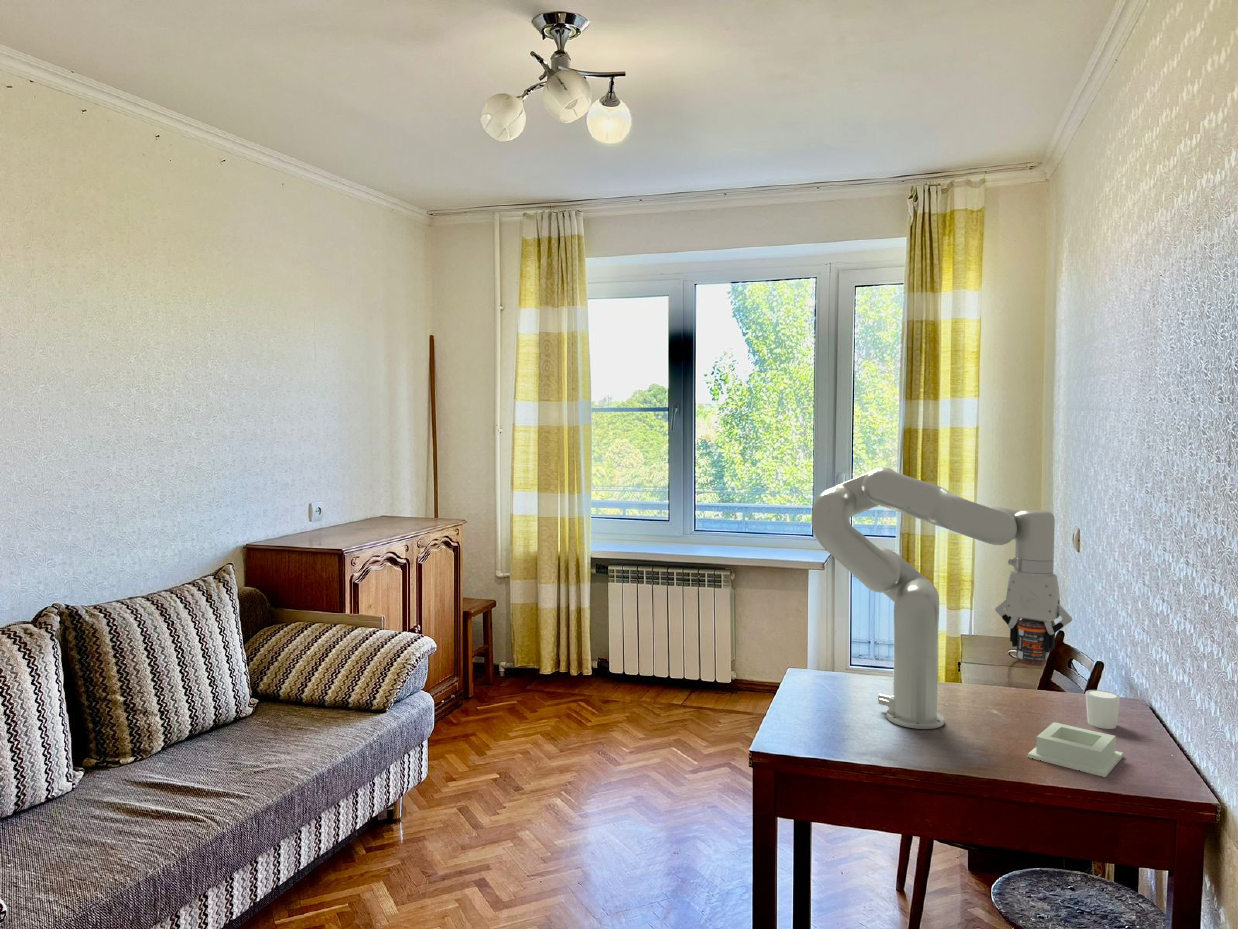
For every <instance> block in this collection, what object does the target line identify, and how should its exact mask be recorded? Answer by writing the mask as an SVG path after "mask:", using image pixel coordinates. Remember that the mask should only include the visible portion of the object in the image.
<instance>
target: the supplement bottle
mask: <svg viewBox="0 0 1238 929" xmlns="http://www.w3.org/2000/svg"><path fill="white" fill-rule="evenodd" d="M1045 634H1047V629H1046V626H1045V624H1044V622H1043V621H1035V620H1029V619H1022V618H1021V619H1020V621H1019V622H1018V629H1017V646H1016V658H1015V659H1016V661H1017V662H1018V663H1020V664H1022V665H1027V666H1033V667H1034V666H1035V667H1036V666H1037V667H1041V666H1045V665H1046V664H1047V658H1048V657H1047V655H1048V653H1047V652H1045Z"/></svg>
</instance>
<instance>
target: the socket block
mask: <svg viewBox="0 0 1238 929" xmlns="http://www.w3.org/2000/svg"><path fill="white" fill-rule="evenodd" d="M1028 757H1029V759H1032V758H1033V759H1032V760H1036V761H1040V760H1041V761H1040V762H1045V763H1048V764H1053V765H1057V766H1060V767H1064V768H1069V769H1070V770H1076V771H1079V770H1080V772H1083V773H1087V774H1090V775H1095V776H1100V777H1103V778H1106V777H1107V776H1109V773H1111V772H1112V770H1113V769H1114V768H1115V766H1117V764H1118V763H1119V762H1120V761H1121V760H1122V759H1123V758H1124V752H1122V751H1118V750H1116V735H1113V734H1108V733H1103V732H1099V731H1094V730H1090V729H1086V728H1081V727H1077V726H1073V725H1068V724H1064V723H1059V722H1052V723H1051V724H1049V725H1048V726H1047V727H1046V728H1045V729H1044V730H1042V732H1040V733H1039V734H1038V735H1036V744H1035V747H1034V748H1033V749H1032V750H1030V751H1029V752H1028V753H1027V758H1028Z"/></svg>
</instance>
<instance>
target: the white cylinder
mask: <svg viewBox="0 0 1238 929" xmlns="http://www.w3.org/2000/svg"><path fill="white" fill-rule="evenodd" d="M1084 695H1085V703H1086V717H1087V718H1086V719H1087V724H1088V725H1090V726H1092V727H1096V728H1100V729H1107V730H1112V729H1116V728H1117V724H1118V723H1117V722H1118V718H1119V717H1118V716H1119V709H1120V702H1121V696H1120V695H1119V694H1117V693H1114V692H1111V691H1106V690H1099V689H1088V690H1086V691H1085V694H1084Z"/></svg>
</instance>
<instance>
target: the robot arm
mask: <svg viewBox="0 0 1238 929" xmlns="http://www.w3.org/2000/svg"><path fill="white" fill-rule="evenodd" d="M878 506H880V507H883V508H887V509H890V510H891V511H896V512H899V513H901V514H904V515H907V516H910V517H913V518H915V519H919V520H921V521H925V522H927V523H929V524H931V525H934V526H938V527H941V528H944V529H946V530H949V531H952V532H955V533H958V534H959V535H962V536H966V537H969V538H970V539H971V538H972V539H974V540H977V541H979V542H983V543H986V544H988V545H993V546H1003V545H1007V544H1009V543H1010V542H1011V541H1013V540H1014V542H1015V553H1014V557H1013V558H1012V559H1011V558H1008V562H1007V564H1008V566H1012V567H1013V569H1014V570H1011V571H1010V573H1009V577H1008V583H1007V589H1006V595H1005V597H1006V598H1005V600H1004V601H1003V602H1001V603H1000V604H999V605H998V606H997V607H995V609H994V610H995V612H996V613H997V614H998V615H999V616H1000V617H1001V619H1002V620H1003V621H1004V622H1005V623H1006V624H1007V626H1008V628H1009V629H1010V630H1009V641H1010V642H1011V647H1014V648H1015V647H1016V648H1017V629H1018V622H1019V621H1020V620H1022V619H1029V620H1035V621H1043V622H1044V624H1045V626H1046V629H1047V634H1045V652H1047V654H1048V653H1050V652H1052V651H1053V650H1054V649H1055V646H1056V633H1057V632H1059V631H1060V630H1062V629H1063V628H1064V627H1066V626H1067V625H1068V624H1069V623H1071V622H1073V618H1072V616H1071V615H1070V614H1069V613H1068V612H1067V611H1066V609H1064V607H1063V606H1062V605H1061V598H1060V587H1059V580H1058V576H1057V574H1055V573H1054V567H1055V566H1054V565H1055V564H1054V561H1055V560H1054V558H1055V556H1054V555H1055V531H1056V530H1055V528H1056V527H1055V525H1056V522H1055V520H1056V519H1055V515H1054V514H1053V513H1052V512H1051V511H1048V510H1042V509H1041V510H1040V509H1023V510H1018V509H1011V508H1003V507H998V506H997V507H996V506H995V507H989V506H986V505H983V504H980V503H977V502H973V501H971V500H968V499H966V498H964V497H960V496H958V495H956V494H954V493H952V492H950V491H949V490H947V489H946V488H944V487H941V486H940V485H937V484H933V483H931V482H927V481H924V480H920V479H918V478H914V477H912V476H908V475H905V474H903V473H899V472H896V471H895V470H893V469H891V468H889V467H886V466H885V467H884V466H880V467H876V468H873V469H872V470H870V471H868V472H865V473H863V474H861V475H859V476H857V477H854V478H852V479H850V480H847V481H844V482H842V483H840V484H837V485H834V486H832V487H830V488H827V489H825V490H823V491H821V493H820V494H818V496H817V498H816V499H815V501H814V503H813V506H812V511H811V526H812V531H813V533H814V536H815V538H816V539H817V541H818V542H819V543H820V545H821V546H822V547H823V549H824V550H826V552H827V553H829V554H830V555H831V556H832V557H833V558H834V559H835V560H836V561H838V563H840V564H841V565H842V566H843V567H844V568H845V569H846V570H847V571H849V573H850V574H852V575H853V576H854V577H855V578H856V579H857V580H859V581H860V582H861V583H862V584H863V585H864V586H865V587H866V588H867V589H869V591H873V592H875V593H879V594H882V593H883V594H884V595H886V597H887V598H889V599H890V600H891V601H892V602H894V604H893V635H894V636H893V638H894V640H893V695H891V696H890V695H889V694H886V693H885V694H884V693H879V694H878V696H877V701H878V705H882V706H887V707H888V709H887V710H886V711H885V713H886V714H885V717H886V719H887V720H888V721H889V722H891V723H892V724H895V725H897V726H901V727H905V728H910V729H915V730H932V729H937V728H941V727H942V726H944V724H945V717H944V716H943V715H942V714H941V713H940V712H938V682H939V680H938V676H939V675H938V673H939V672H938V671H939V621H940V595H939V591H938V589H937V588H936V586H935V584H933V583H932V582H931V581H930V580H929V579H928V578H927V577H925V576H924V575H923V574H922V573H921V572H920V571H918V570H917V569H916V568H915V567H913V566H912V565H911V564H910V563H909V562H907V561H906V560H905V559H904V558H903V557H901V556H900V555H899V554H898V553H896V552H895V551H893V550H891V549H889V548H885V547H878V546H877V545H875V544H874V543H873V542H872V541H870V540H869V539H868V538H867V537H866V536H865V535H864V534H862V532H860V530H857V529H856V528H855V527H854V526H853V525H852V524H851V523H850V520H849V519H850V518H852V517H854V516H856V515H859V514H861V513H864V512H867V511H868V510H871V509H873V508H876V507H878ZM1060 617H1061V620H1060V621H1059V622H1057V623H1056V622H1055V620H1056V619H1058V618H1060Z"/></svg>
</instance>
